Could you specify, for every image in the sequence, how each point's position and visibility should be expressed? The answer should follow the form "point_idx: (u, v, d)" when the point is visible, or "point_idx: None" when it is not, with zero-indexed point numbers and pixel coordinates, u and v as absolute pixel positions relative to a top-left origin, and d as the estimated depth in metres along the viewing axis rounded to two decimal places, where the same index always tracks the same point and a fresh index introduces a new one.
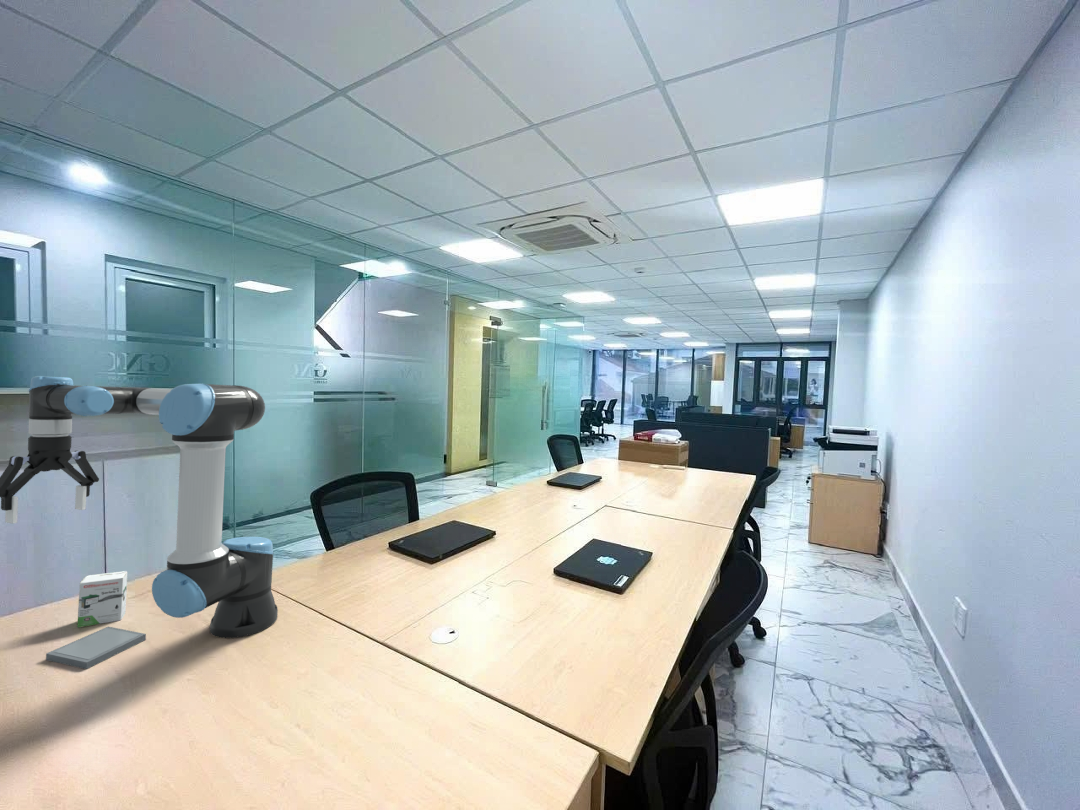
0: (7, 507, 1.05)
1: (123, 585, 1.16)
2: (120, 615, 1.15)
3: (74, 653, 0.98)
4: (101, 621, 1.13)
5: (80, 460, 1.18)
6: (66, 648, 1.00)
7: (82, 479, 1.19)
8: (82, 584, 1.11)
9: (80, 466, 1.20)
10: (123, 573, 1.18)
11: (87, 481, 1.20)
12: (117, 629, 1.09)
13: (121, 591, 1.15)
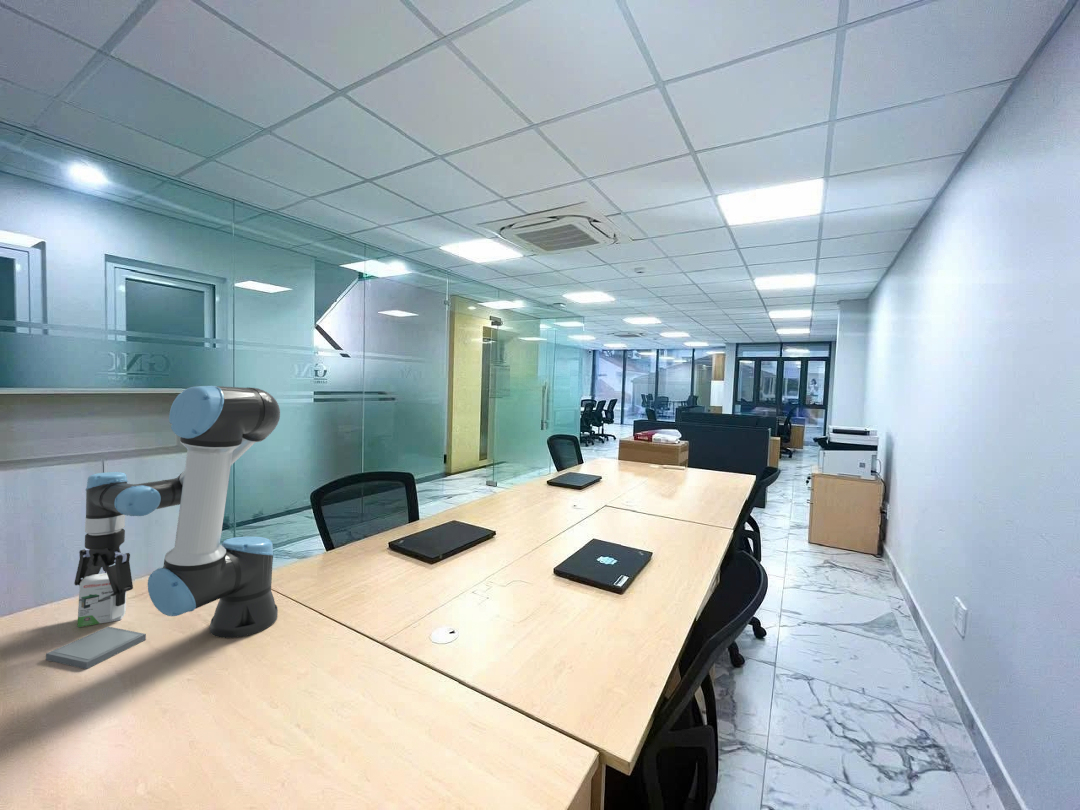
0: None
1: None
2: None
3: (74, 653, 0.98)
4: (101, 621, 1.13)
5: None
6: (66, 648, 1.00)
7: (112, 585, 1.13)
8: (82, 584, 1.11)
9: None
10: None
11: (115, 590, 1.13)
12: (117, 629, 1.09)
13: None
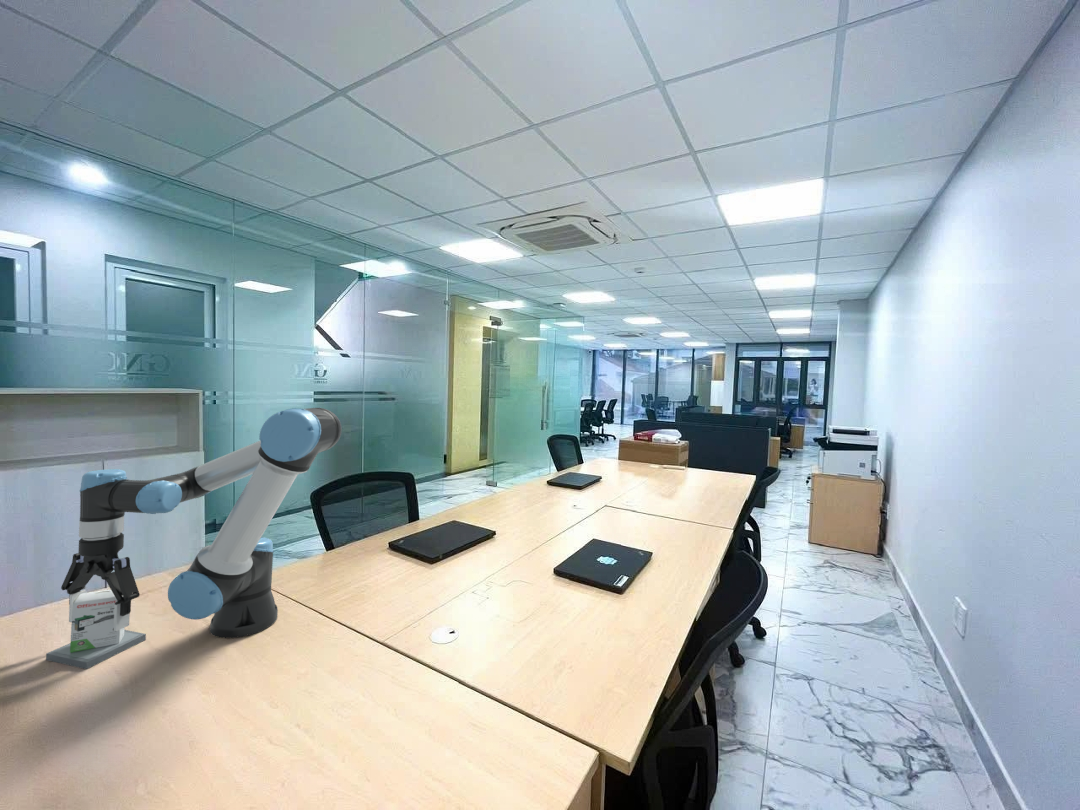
0: None
1: None
2: (118, 638, 1.03)
3: (74, 653, 0.98)
4: (96, 645, 1.01)
5: None
6: (66, 648, 1.00)
7: (115, 594, 1.00)
8: (75, 604, 0.98)
9: None
10: None
11: (119, 598, 1.00)
12: None
13: None
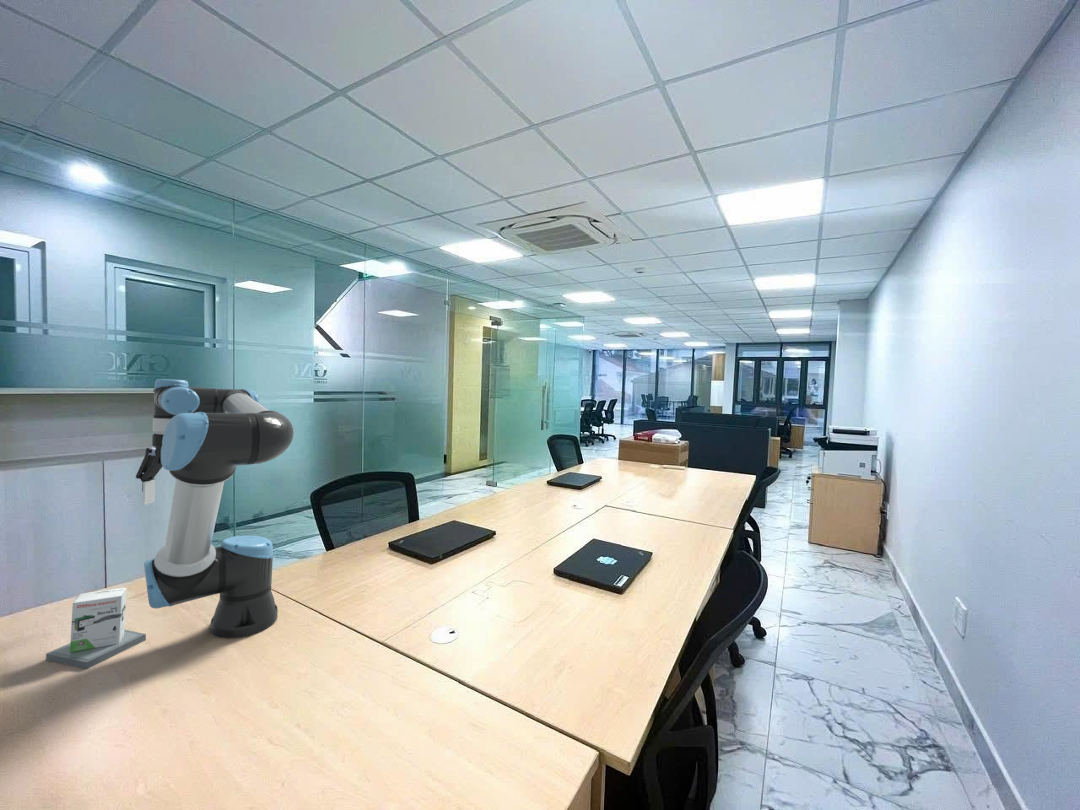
0: (143, 489, 1.25)
1: (122, 604, 1.03)
2: (118, 638, 1.03)
3: (74, 653, 0.98)
4: (96, 645, 1.01)
5: None
6: (66, 648, 1.00)
7: None
8: (75, 604, 0.98)
9: None
10: (122, 590, 1.05)
11: None
12: None
13: (119, 611, 1.03)
